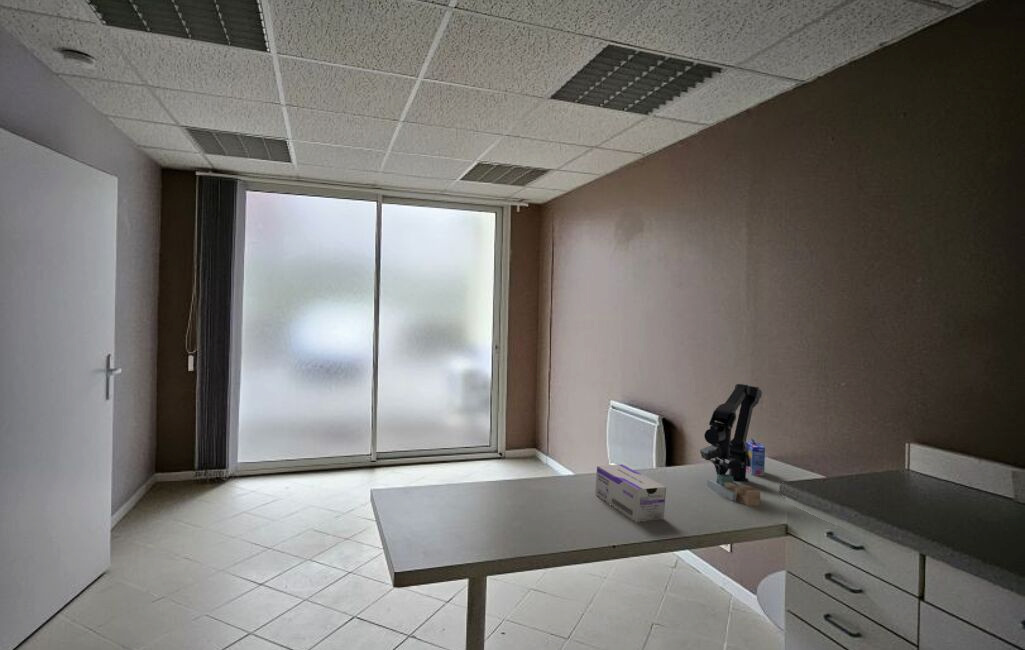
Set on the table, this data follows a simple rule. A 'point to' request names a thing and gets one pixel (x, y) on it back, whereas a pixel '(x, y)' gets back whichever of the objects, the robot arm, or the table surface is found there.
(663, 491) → the surgical sutures box
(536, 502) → the table surface
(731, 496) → the channel
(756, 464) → the ink cartridge box
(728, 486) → the push rod
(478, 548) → the table surface
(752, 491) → the block
